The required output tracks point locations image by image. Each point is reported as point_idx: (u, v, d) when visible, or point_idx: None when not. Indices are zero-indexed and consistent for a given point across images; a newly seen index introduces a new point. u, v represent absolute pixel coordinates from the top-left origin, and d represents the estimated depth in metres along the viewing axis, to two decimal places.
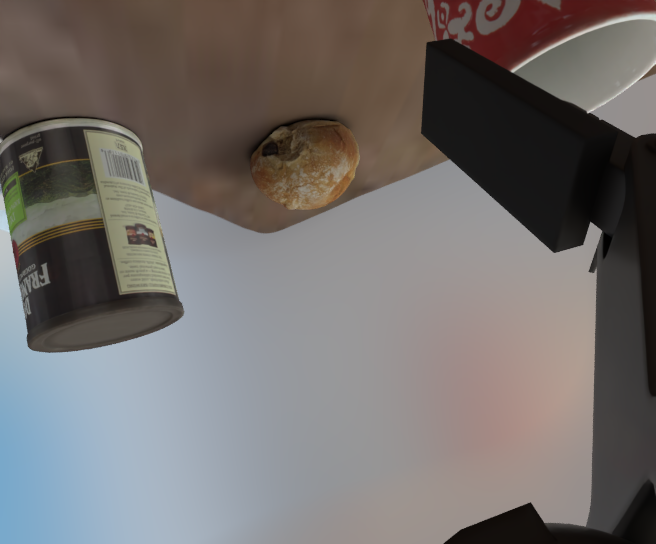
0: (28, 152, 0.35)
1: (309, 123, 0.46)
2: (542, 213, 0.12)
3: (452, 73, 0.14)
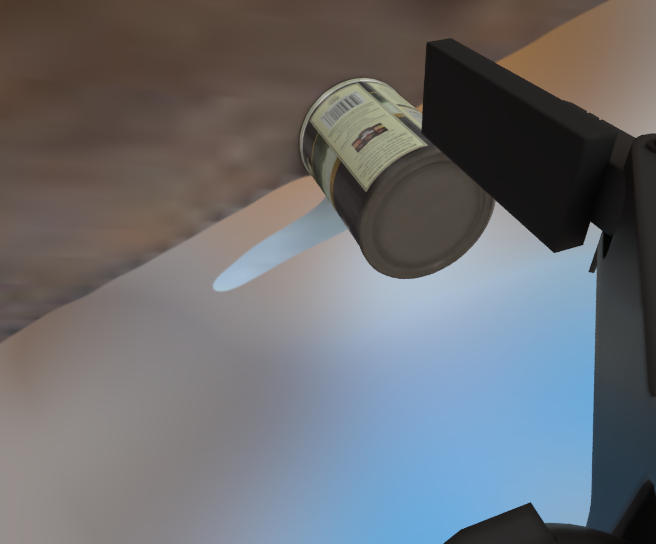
0: (309, 167, 0.45)
1: None
2: (542, 213, 0.12)
3: (452, 73, 0.14)
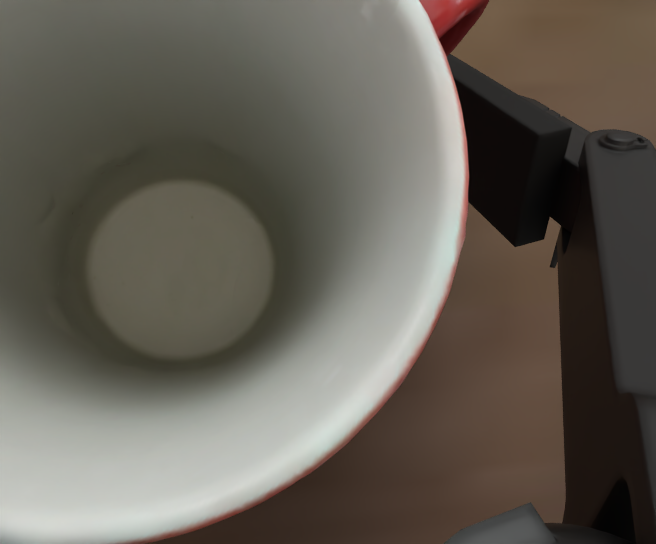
0: None
1: None
2: (503, 208, 0.12)
3: None
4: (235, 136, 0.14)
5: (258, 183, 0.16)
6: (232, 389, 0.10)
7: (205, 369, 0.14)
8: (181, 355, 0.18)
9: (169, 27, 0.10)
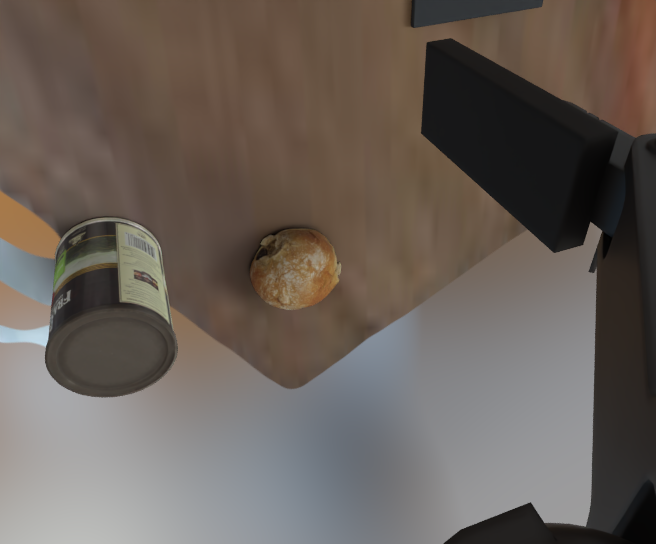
0: (75, 236, 0.50)
1: (289, 229, 0.59)
2: (542, 213, 0.12)
3: (451, 73, 0.14)
4: None
5: None
6: None
7: None
8: None
9: None
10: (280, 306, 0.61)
